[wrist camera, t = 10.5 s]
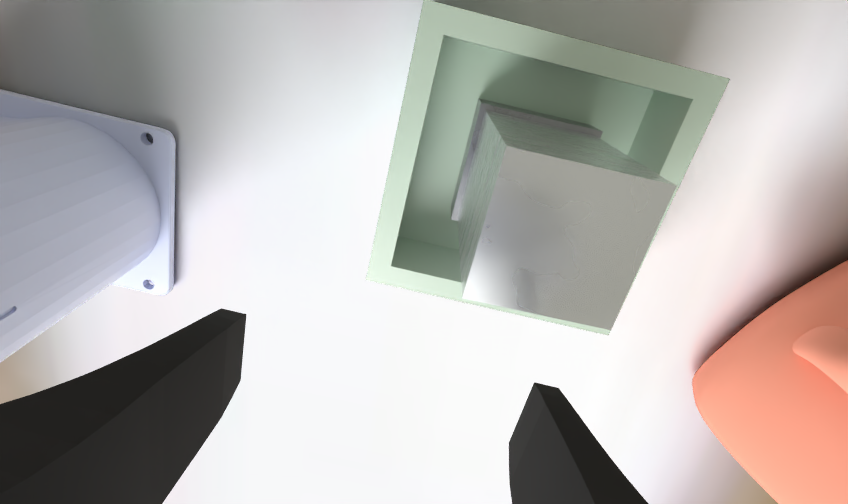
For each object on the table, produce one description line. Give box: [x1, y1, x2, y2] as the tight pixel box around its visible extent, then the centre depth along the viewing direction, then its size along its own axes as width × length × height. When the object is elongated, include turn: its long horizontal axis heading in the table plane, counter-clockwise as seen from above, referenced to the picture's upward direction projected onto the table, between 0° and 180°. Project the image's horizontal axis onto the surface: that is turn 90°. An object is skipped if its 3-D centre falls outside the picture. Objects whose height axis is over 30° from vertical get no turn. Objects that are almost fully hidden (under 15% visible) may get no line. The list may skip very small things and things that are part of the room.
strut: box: [451, 98, 677, 330], centre depth 15 cm, size 4×4×8 cm
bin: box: [366, 0, 730, 335], centre depth 18 cm, size 10×10×4 cm
